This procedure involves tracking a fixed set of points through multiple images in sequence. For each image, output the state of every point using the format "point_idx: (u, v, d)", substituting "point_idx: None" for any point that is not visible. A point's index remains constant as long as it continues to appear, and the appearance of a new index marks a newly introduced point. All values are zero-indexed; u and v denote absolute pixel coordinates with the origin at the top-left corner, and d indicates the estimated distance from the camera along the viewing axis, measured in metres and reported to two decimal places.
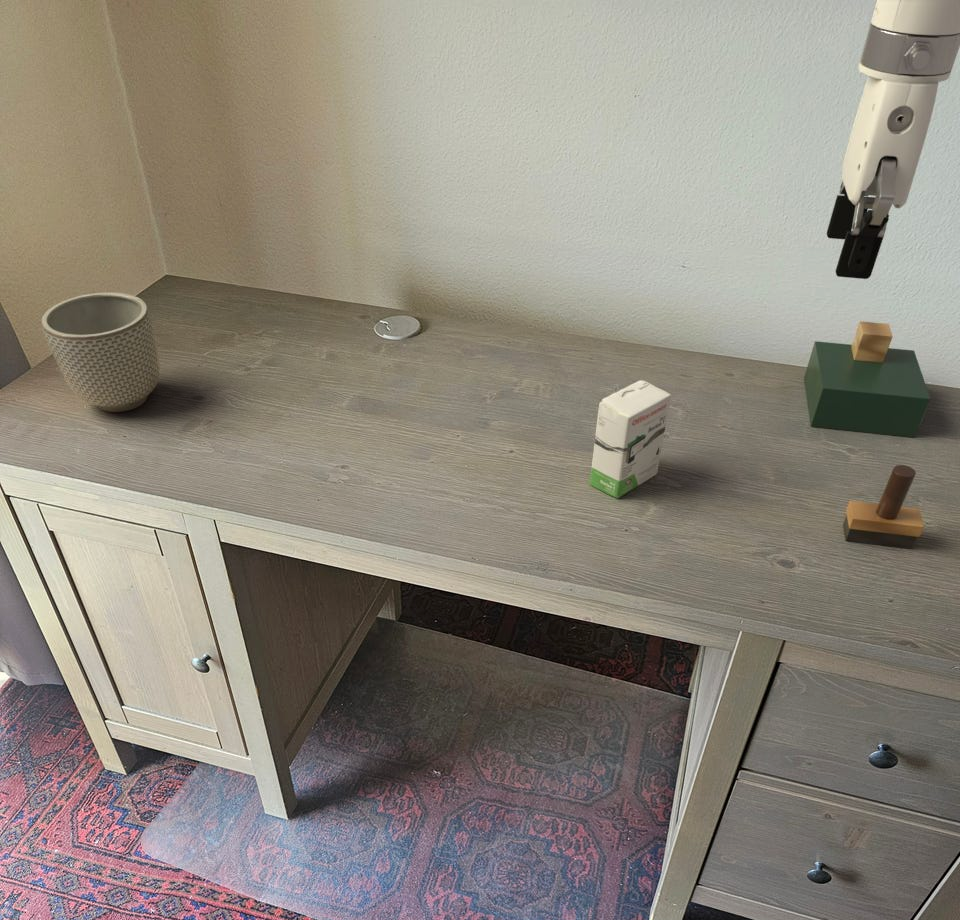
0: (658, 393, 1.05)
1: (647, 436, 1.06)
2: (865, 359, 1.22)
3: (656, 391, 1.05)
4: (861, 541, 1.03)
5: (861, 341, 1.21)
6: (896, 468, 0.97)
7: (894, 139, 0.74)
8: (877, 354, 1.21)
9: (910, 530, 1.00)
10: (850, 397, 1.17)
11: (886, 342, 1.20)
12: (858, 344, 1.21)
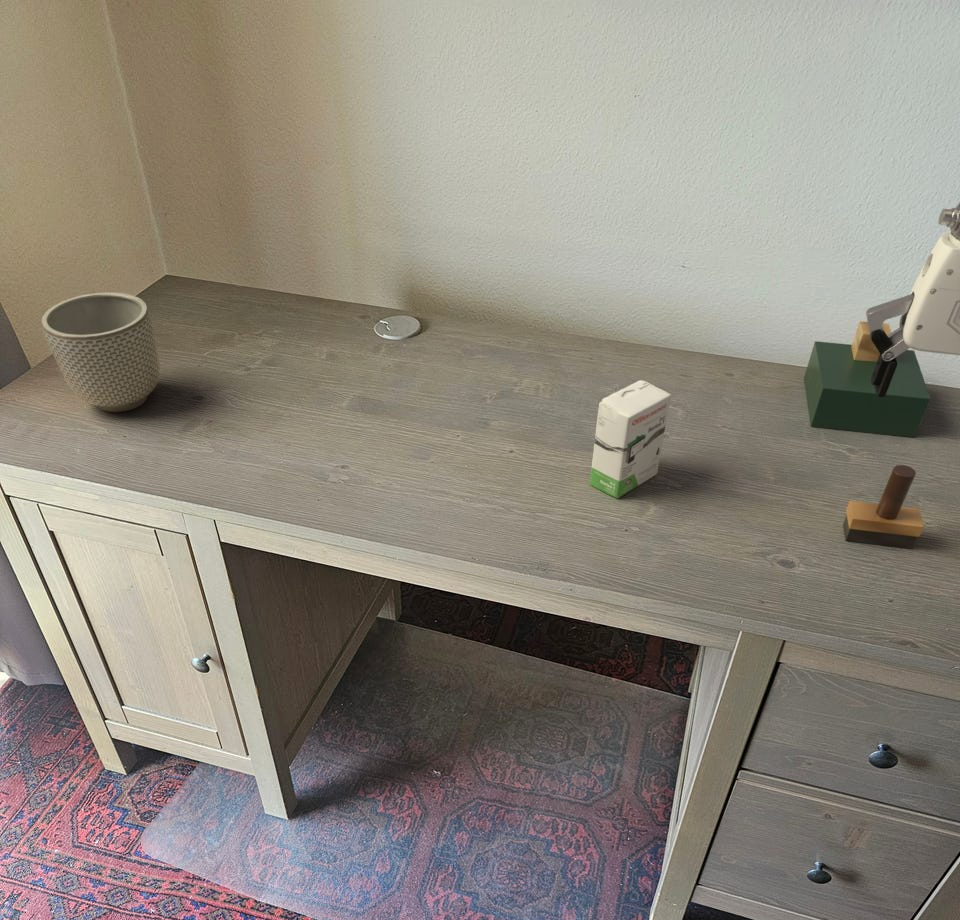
0: (658, 393, 1.05)
1: (647, 436, 1.06)
2: (865, 359, 1.22)
3: (656, 391, 1.05)
4: (861, 541, 1.03)
5: (861, 341, 1.21)
6: (896, 468, 0.97)
7: (919, 279, 0.83)
8: (877, 354, 1.21)
9: (910, 530, 1.00)
10: (850, 397, 1.17)
11: None
12: (858, 344, 1.21)
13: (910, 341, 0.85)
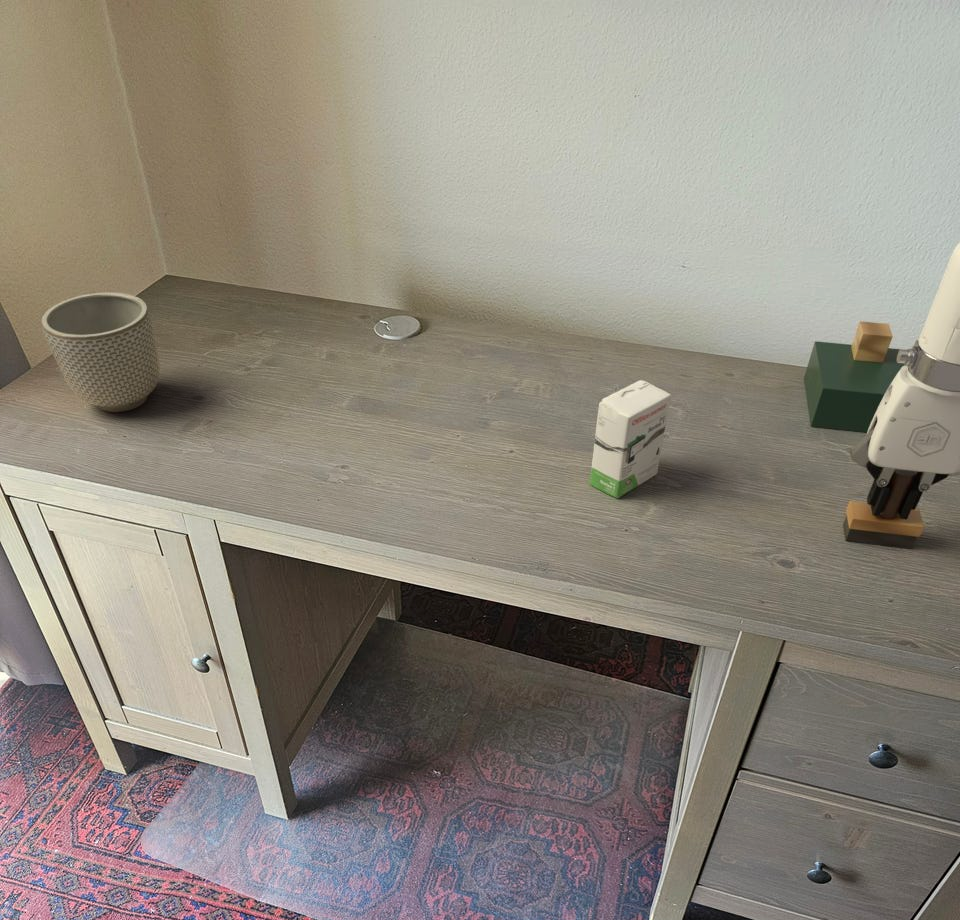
0: (658, 393, 1.05)
1: (647, 436, 1.06)
2: (865, 359, 1.22)
3: (656, 391, 1.05)
4: (861, 541, 1.03)
5: (861, 341, 1.21)
6: None
7: (881, 406, 0.93)
8: (877, 354, 1.21)
9: (910, 530, 1.00)
10: (850, 397, 1.17)
11: (886, 342, 1.20)
12: (858, 344, 1.21)
13: (874, 459, 0.94)
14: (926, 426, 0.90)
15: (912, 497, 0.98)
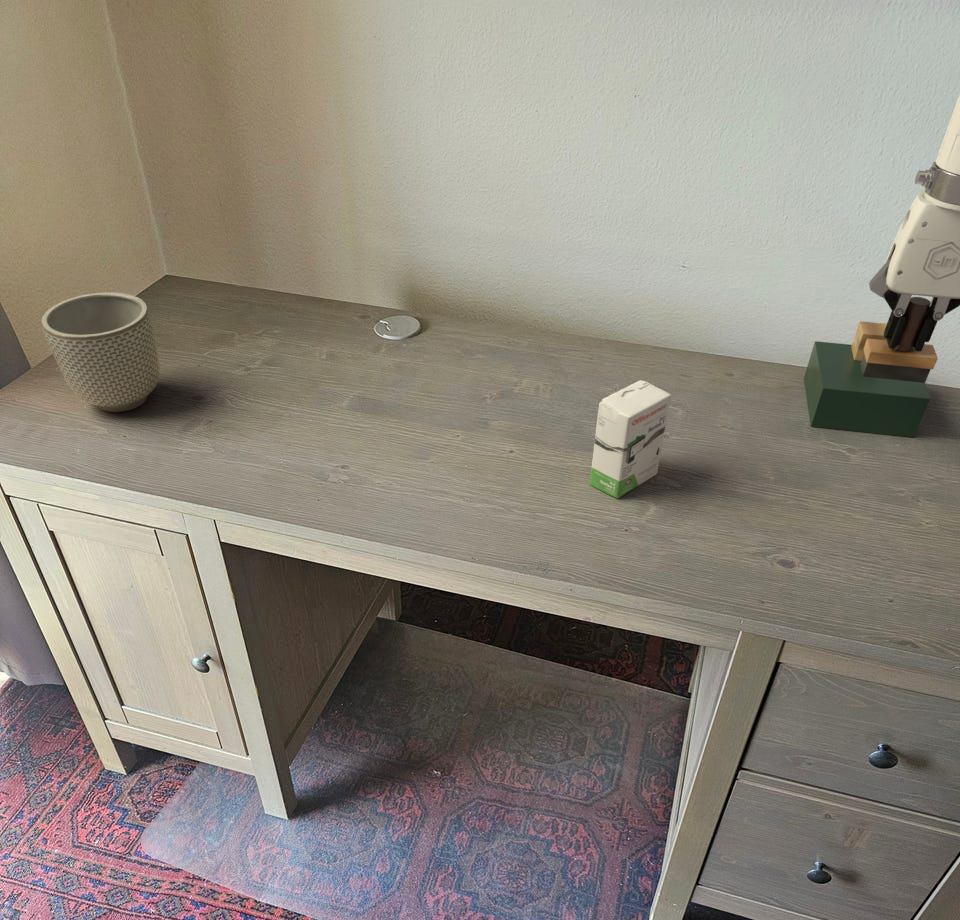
0: (658, 393, 1.05)
1: (647, 436, 1.06)
2: None
3: (656, 391, 1.05)
4: (878, 376, 1.09)
5: (861, 341, 1.21)
6: (912, 299, 1.03)
7: (899, 232, 0.98)
8: None
9: (924, 362, 1.06)
10: (850, 397, 1.17)
11: None
12: (858, 344, 1.21)
13: (892, 285, 1.00)
14: (942, 247, 0.96)
15: (926, 326, 1.03)
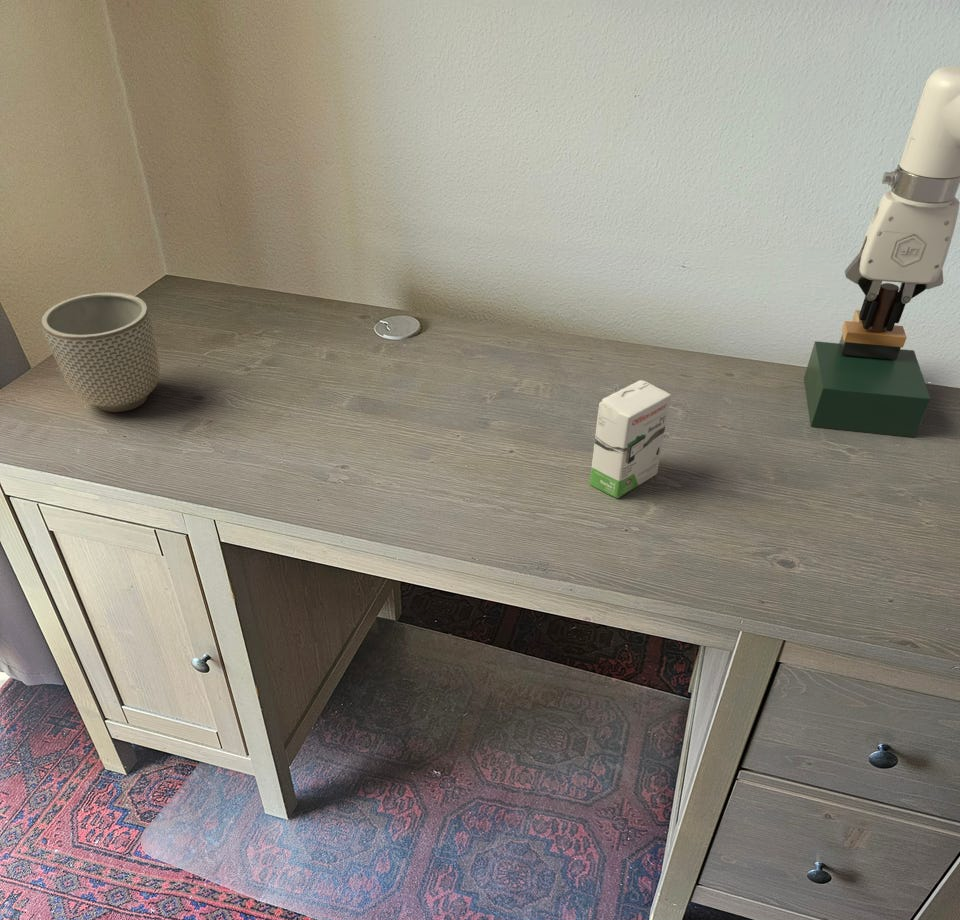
0: (658, 393, 1.05)
1: (647, 436, 1.06)
2: None
3: (656, 391, 1.05)
4: (854, 354, 1.23)
5: None
6: (883, 285, 1.17)
7: (870, 226, 1.12)
8: None
9: (895, 341, 1.20)
10: (850, 397, 1.17)
11: None
12: None
13: (864, 272, 1.14)
14: (906, 238, 1.10)
15: (896, 309, 1.17)
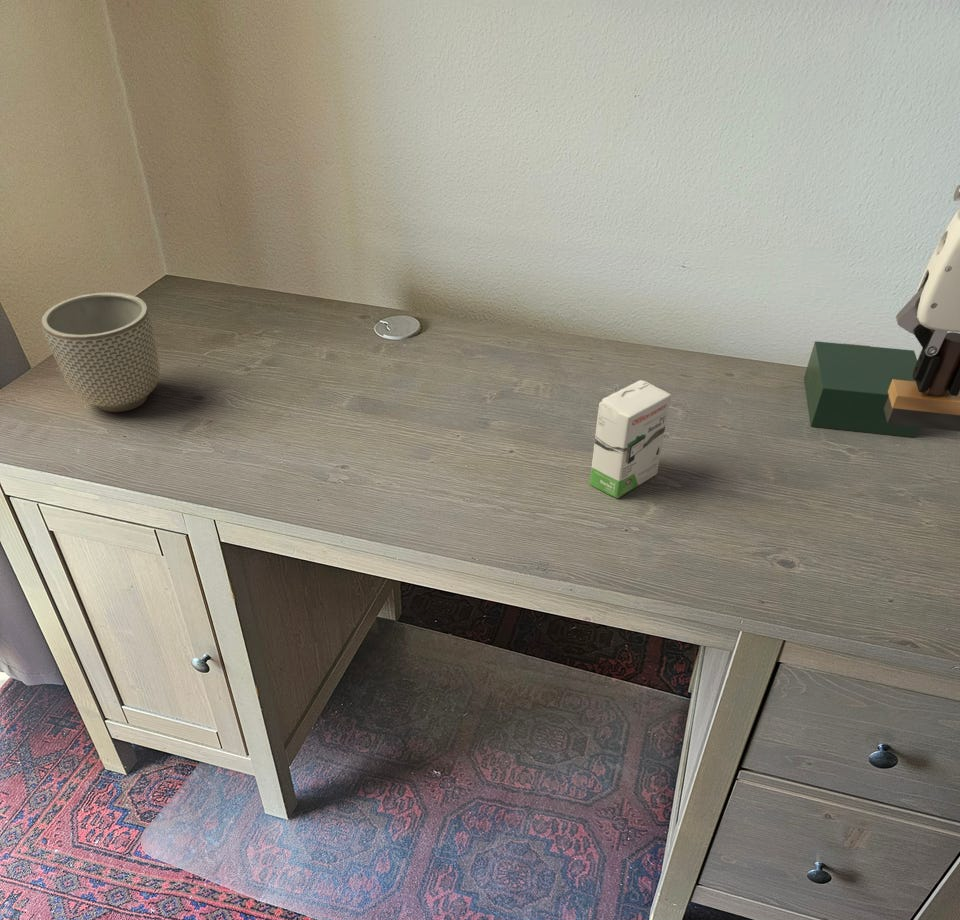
0: (658, 393, 1.05)
1: (647, 436, 1.06)
2: None
3: (656, 391, 1.05)
4: (905, 424, 0.93)
5: None
6: (947, 335, 0.87)
7: (934, 257, 0.82)
8: None
9: None
10: (850, 397, 1.17)
11: None
12: None
13: (925, 320, 0.84)
14: None
15: None
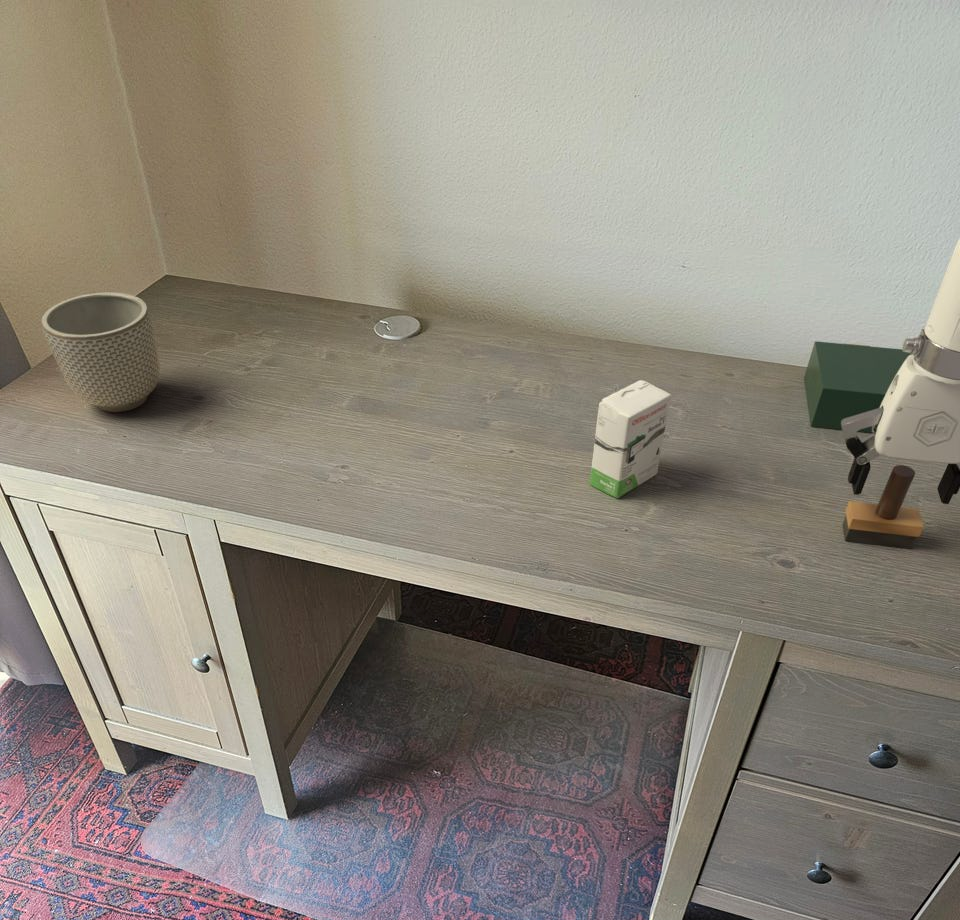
0: (658, 393, 1.05)
1: (647, 436, 1.06)
2: None
3: (656, 391, 1.05)
4: (860, 541, 1.03)
5: None
6: (895, 468, 0.97)
7: (887, 396, 0.92)
8: None
9: (909, 530, 1.00)
10: (850, 397, 1.17)
11: None
12: None
13: (881, 450, 0.94)
14: (933, 415, 0.90)
15: (954, 481, 0.96)
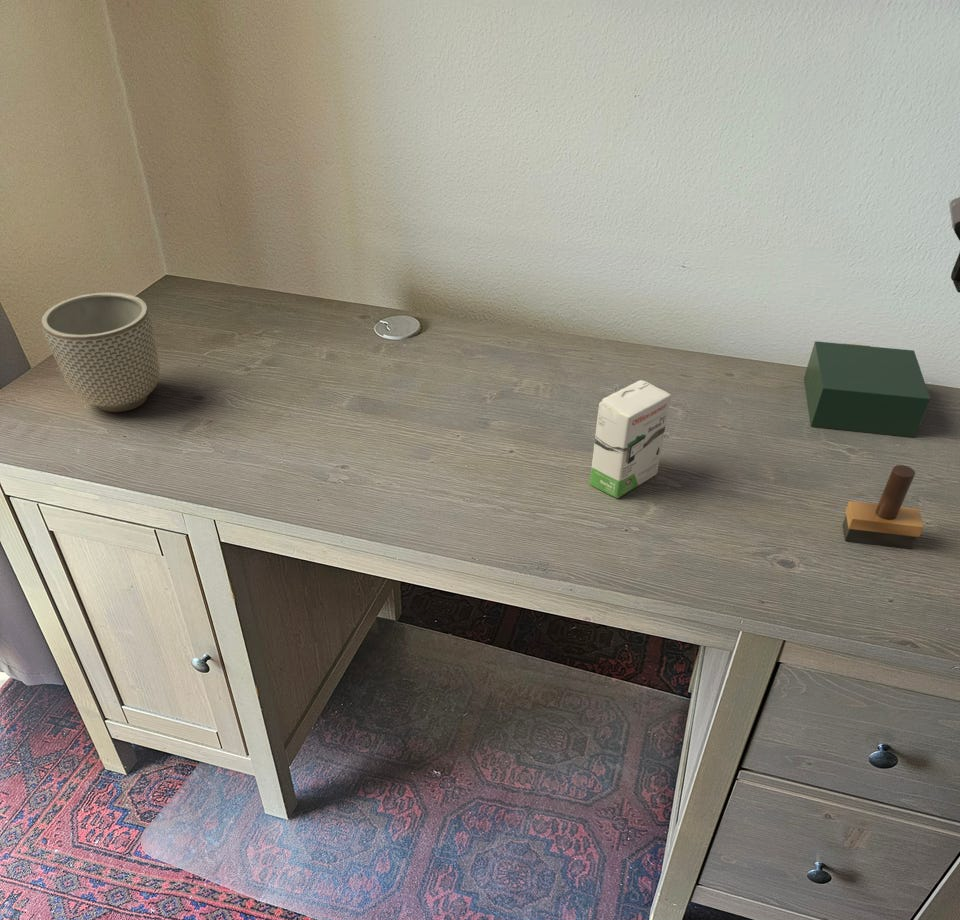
0: (658, 393, 1.05)
1: (647, 436, 1.06)
2: None
3: (656, 391, 1.05)
4: (860, 541, 1.03)
5: None
6: (895, 468, 0.97)
7: None
8: None
9: (909, 530, 1.00)
10: (850, 397, 1.17)
11: None
12: None
13: None
14: None
15: None
